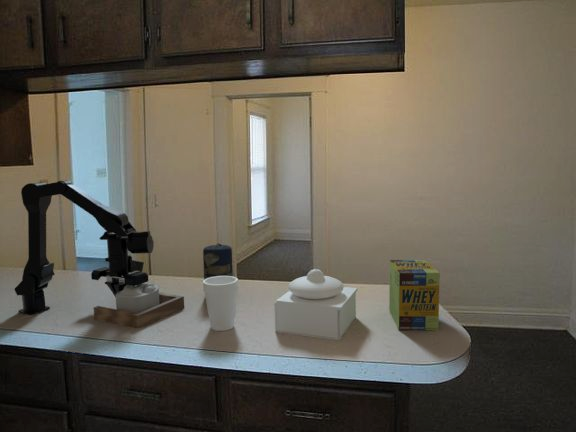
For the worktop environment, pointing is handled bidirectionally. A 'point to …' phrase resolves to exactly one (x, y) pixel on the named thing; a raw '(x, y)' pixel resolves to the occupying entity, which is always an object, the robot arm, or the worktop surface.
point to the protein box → (414, 294)
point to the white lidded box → (316, 307)
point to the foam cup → (221, 301)
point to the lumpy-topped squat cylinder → (137, 298)
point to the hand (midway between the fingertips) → (121, 303)
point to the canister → (217, 261)
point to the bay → (138, 320)
